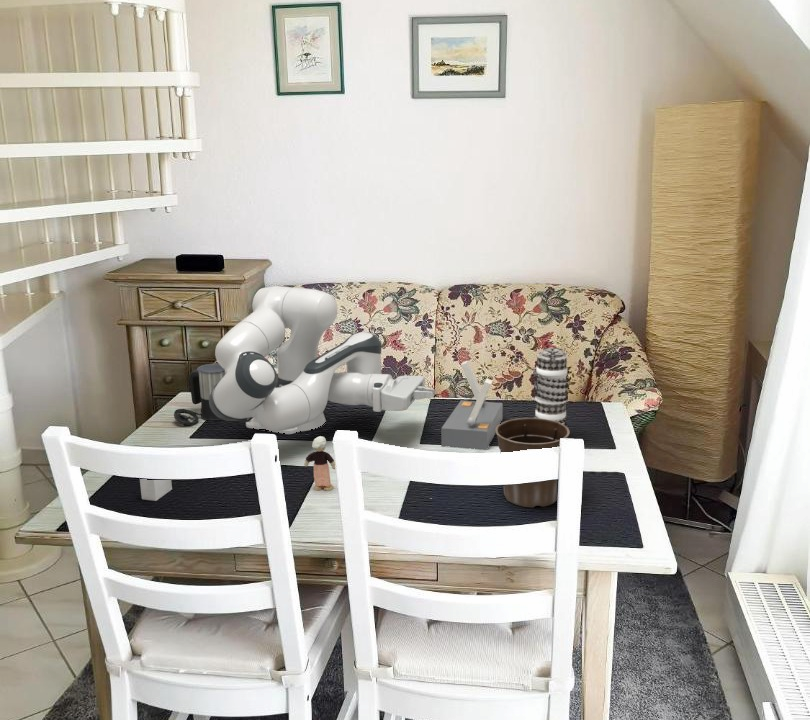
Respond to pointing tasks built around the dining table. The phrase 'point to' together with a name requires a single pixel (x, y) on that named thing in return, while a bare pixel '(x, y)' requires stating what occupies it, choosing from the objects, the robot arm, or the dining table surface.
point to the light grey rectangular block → (154, 488)
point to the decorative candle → (551, 385)
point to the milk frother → (201, 393)
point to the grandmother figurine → (321, 464)
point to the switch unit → (471, 436)
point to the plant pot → (526, 437)
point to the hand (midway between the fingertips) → (433, 393)
